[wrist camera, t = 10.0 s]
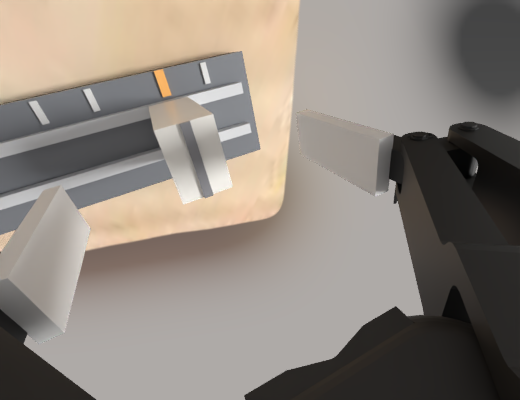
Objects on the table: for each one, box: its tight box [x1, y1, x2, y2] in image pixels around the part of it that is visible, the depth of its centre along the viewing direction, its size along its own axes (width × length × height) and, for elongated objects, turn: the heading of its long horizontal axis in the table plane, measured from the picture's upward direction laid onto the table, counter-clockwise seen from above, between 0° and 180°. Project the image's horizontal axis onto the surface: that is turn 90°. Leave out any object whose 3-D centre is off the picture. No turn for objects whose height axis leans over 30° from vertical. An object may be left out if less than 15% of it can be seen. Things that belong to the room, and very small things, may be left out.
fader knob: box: [148, 97, 233, 204], centre depth 21 cm, size 5×4×11 cm
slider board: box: [0, 51, 260, 235], centre depth 25 cm, size 10×28×3 cm, turn 102°
